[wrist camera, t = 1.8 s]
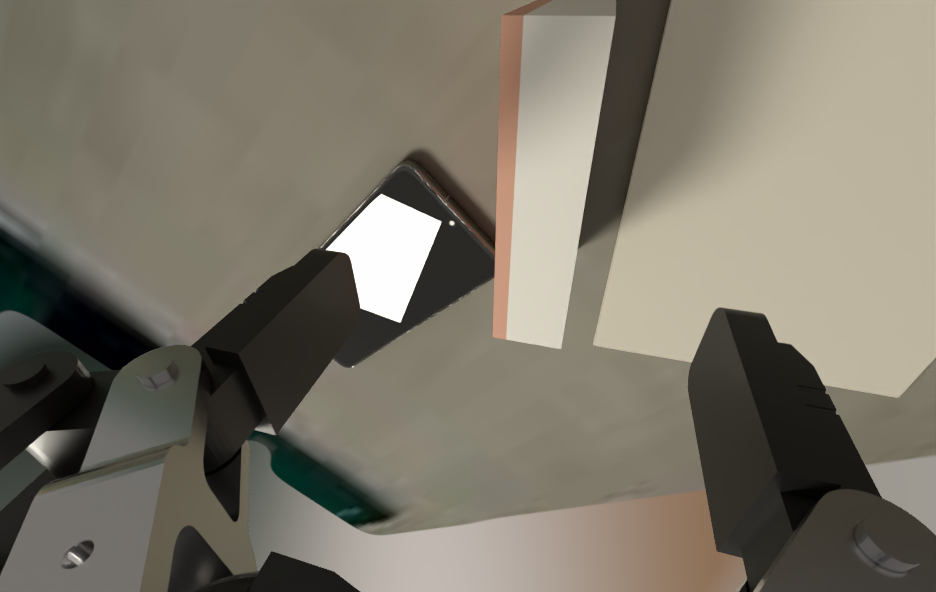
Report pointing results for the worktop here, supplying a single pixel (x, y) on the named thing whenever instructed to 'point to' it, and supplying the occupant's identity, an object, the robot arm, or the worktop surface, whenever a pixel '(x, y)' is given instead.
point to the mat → (787, 187)
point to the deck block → (545, 158)
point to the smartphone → (408, 258)
